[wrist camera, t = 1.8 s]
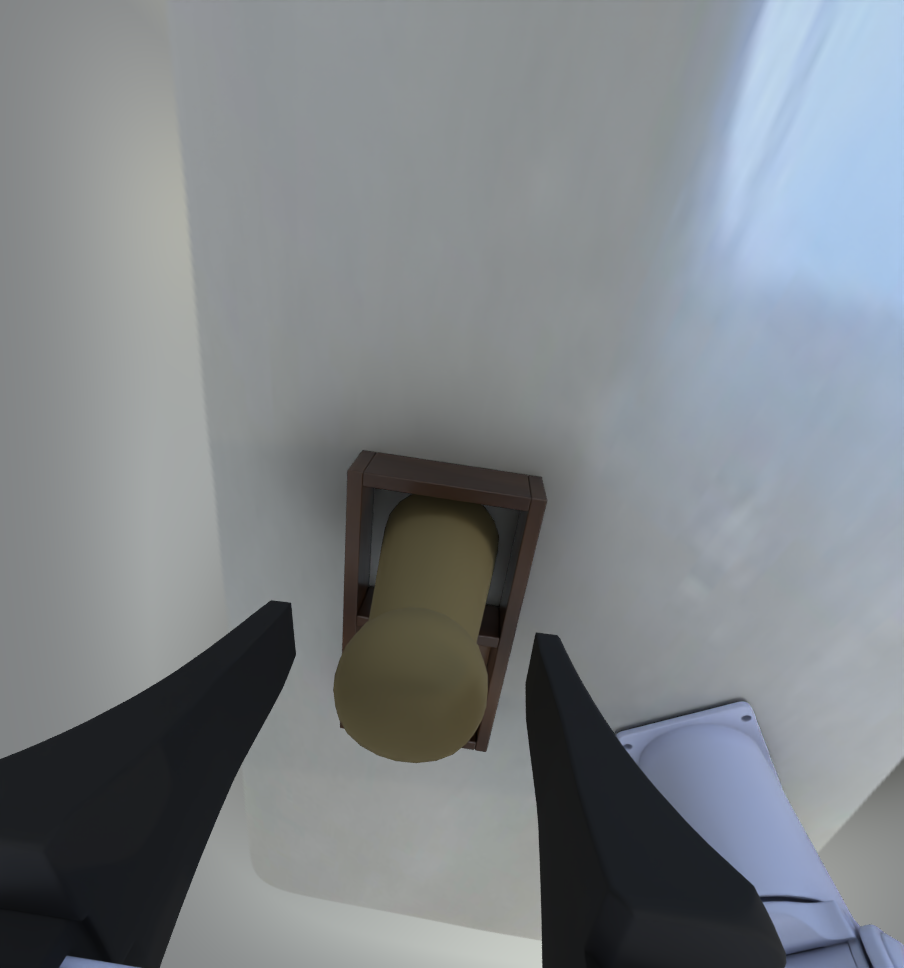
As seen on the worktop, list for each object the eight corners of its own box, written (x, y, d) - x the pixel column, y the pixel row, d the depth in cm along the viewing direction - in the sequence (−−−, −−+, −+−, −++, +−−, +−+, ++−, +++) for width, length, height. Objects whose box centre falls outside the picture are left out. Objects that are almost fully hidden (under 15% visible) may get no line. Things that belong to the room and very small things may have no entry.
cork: (493, 483, 22) (490, 653, 12) (504, 584, 25) (509, 793, 15) (373, 493, 23) (281, 660, 13) (395, 590, 26) (332, 792, 16)
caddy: (487, 715, 29) (486, 752, 27) (351, 693, 29) (339, 728, 27) (542, 476, 22) (547, 500, 20) (362, 449, 22) (346, 469, 20)
